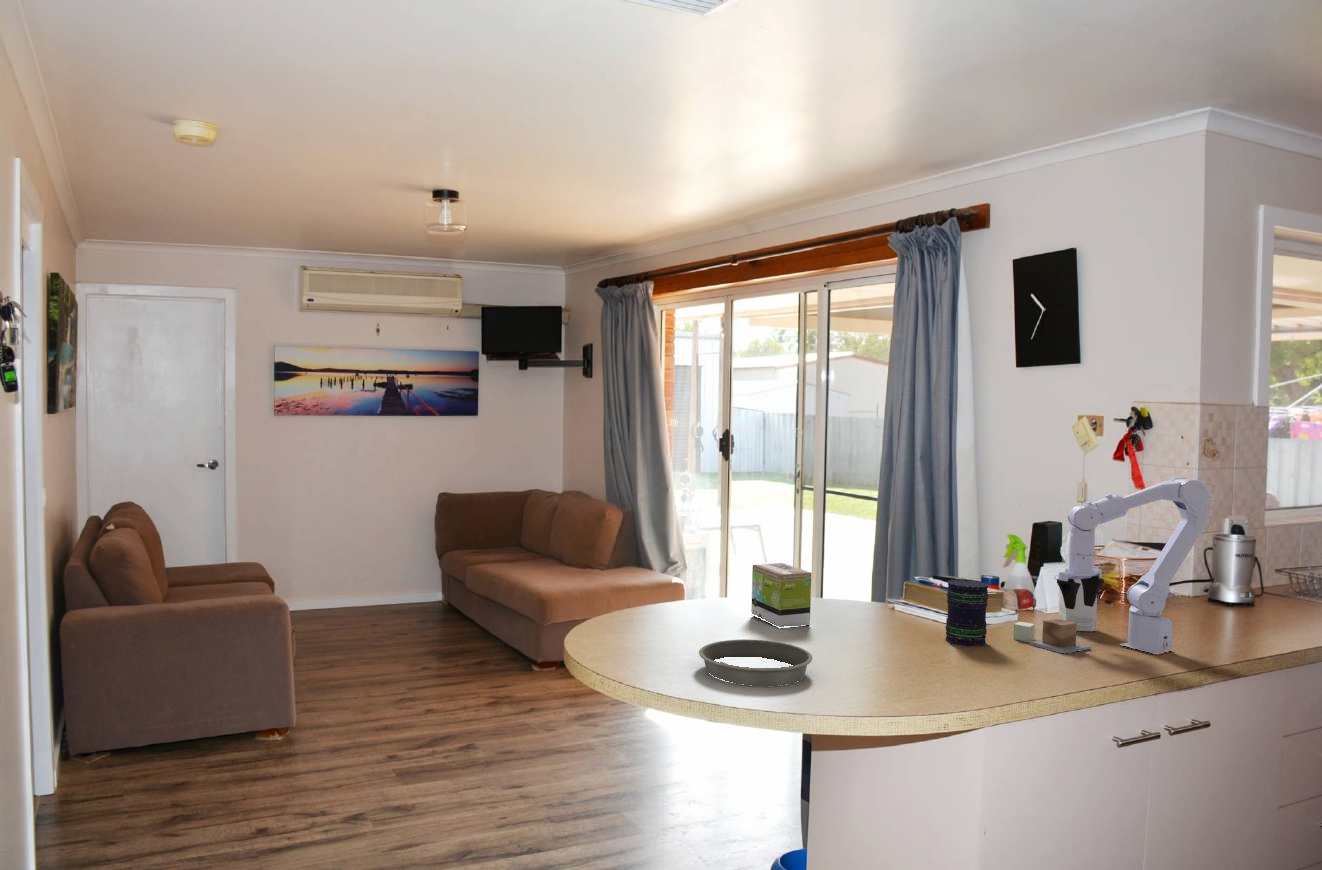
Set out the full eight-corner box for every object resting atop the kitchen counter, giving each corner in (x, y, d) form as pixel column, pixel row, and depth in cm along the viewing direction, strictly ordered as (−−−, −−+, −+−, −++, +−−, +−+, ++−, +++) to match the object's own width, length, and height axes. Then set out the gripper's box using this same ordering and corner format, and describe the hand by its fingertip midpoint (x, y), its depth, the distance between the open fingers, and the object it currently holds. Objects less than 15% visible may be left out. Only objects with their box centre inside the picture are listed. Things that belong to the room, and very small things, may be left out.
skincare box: (1088, 627, 259) (1090, 570, 259) (1097, 632, 253) (1099, 574, 252) (1056, 625, 260) (1059, 569, 260) (1064, 631, 254) (1067, 573, 253)
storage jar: (988, 648, 233) (991, 588, 232) (947, 645, 235) (949, 585, 234) (983, 638, 243) (985, 580, 242) (943, 635, 244) (945, 578, 244)
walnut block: (1075, 645, 235) (1076, 623, 235) (1061, 647, 232) (1062, 625, 232) (1056, 640, 240) (1057, 618, 240) (1042, 642, 237) (1043, 620, 237)
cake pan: (740, 652, 223) (740, 633, 223) (832, 673, 208) (833, 653, 208) (675, 673, 204) (676, 652, 204) (771, 698, 189) (772, 675, 189)
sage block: (1034, 639, 244) (1034, 624, 243) (1029, 642, 240) (1029, 626, 240) (1018, 636, 246) (1019, 621, 246) (1013, 639, 243) (1013, 624, 243)
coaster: (1090, 649, 234) (1090, 646, 234) (1064, 654, 229) (1064, 651, 229) (1055, 640, 243) (1055, 637, 243) (1029, 644, 238) (1029, 641, 238)
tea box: (749, 617, 260) (751, 563, 259) (780, 614, 264) (782, 561, 263) (778, 629, 246) (780, 573, 246) (811, 627, 250) (813, 571, 250)
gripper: (1085, 549, 246) (1083, 601, 246) (1049, 552, 238) (1047, 606, 239) (1110, 553, 240) (1108, 607, 240) (1074, 557, 232) (1071, 612, 233)
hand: (1079, 607), depth 239 cm, fingers open, 7 cm apart
